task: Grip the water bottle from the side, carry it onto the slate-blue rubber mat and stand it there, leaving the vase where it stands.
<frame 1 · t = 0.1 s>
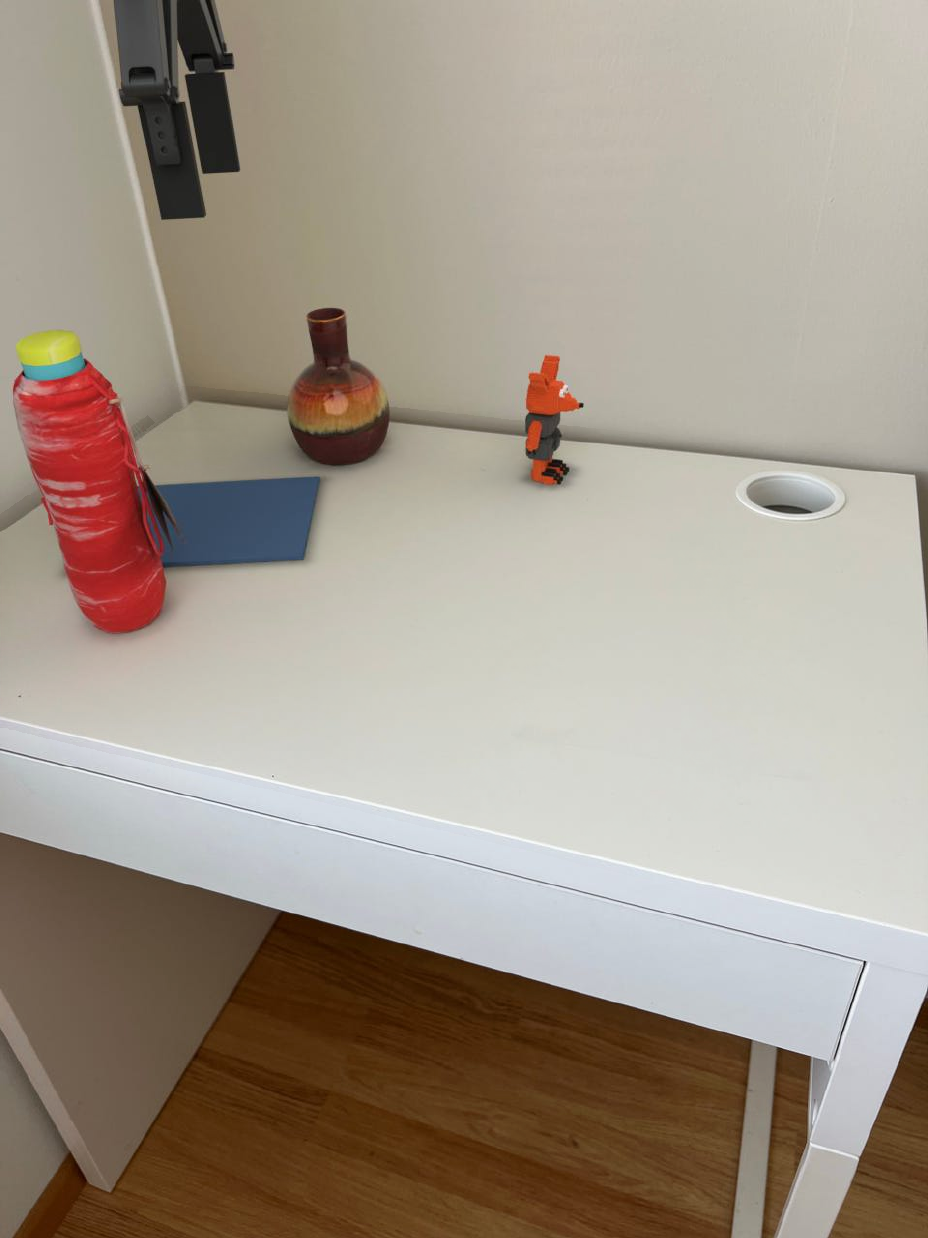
hand: (204, 193, 69), 34 cm above the table, tool pointing down, fingers open, 13 cm apart
vase: (343, 451, 113), on the table
toy animal: (556, 477, 105), on the table
blue mat: (202, 523, 100), on the table
water bottle: (145, 617, 87), on the table
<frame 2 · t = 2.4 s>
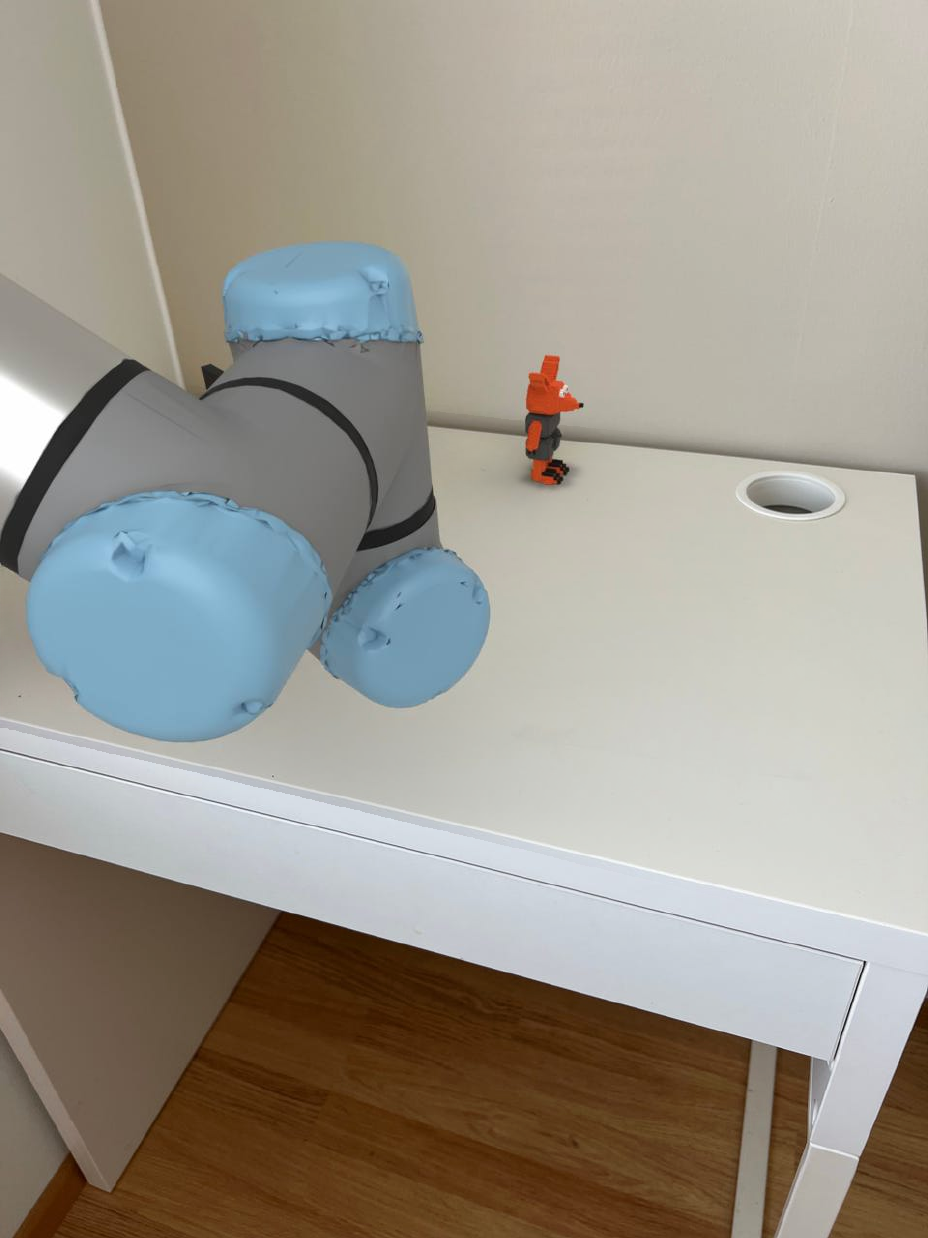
hand: (118, 411, 68), 22 cm above the table, tool horizontal, fingers open, 13 cm apart
nothing on the table moved.
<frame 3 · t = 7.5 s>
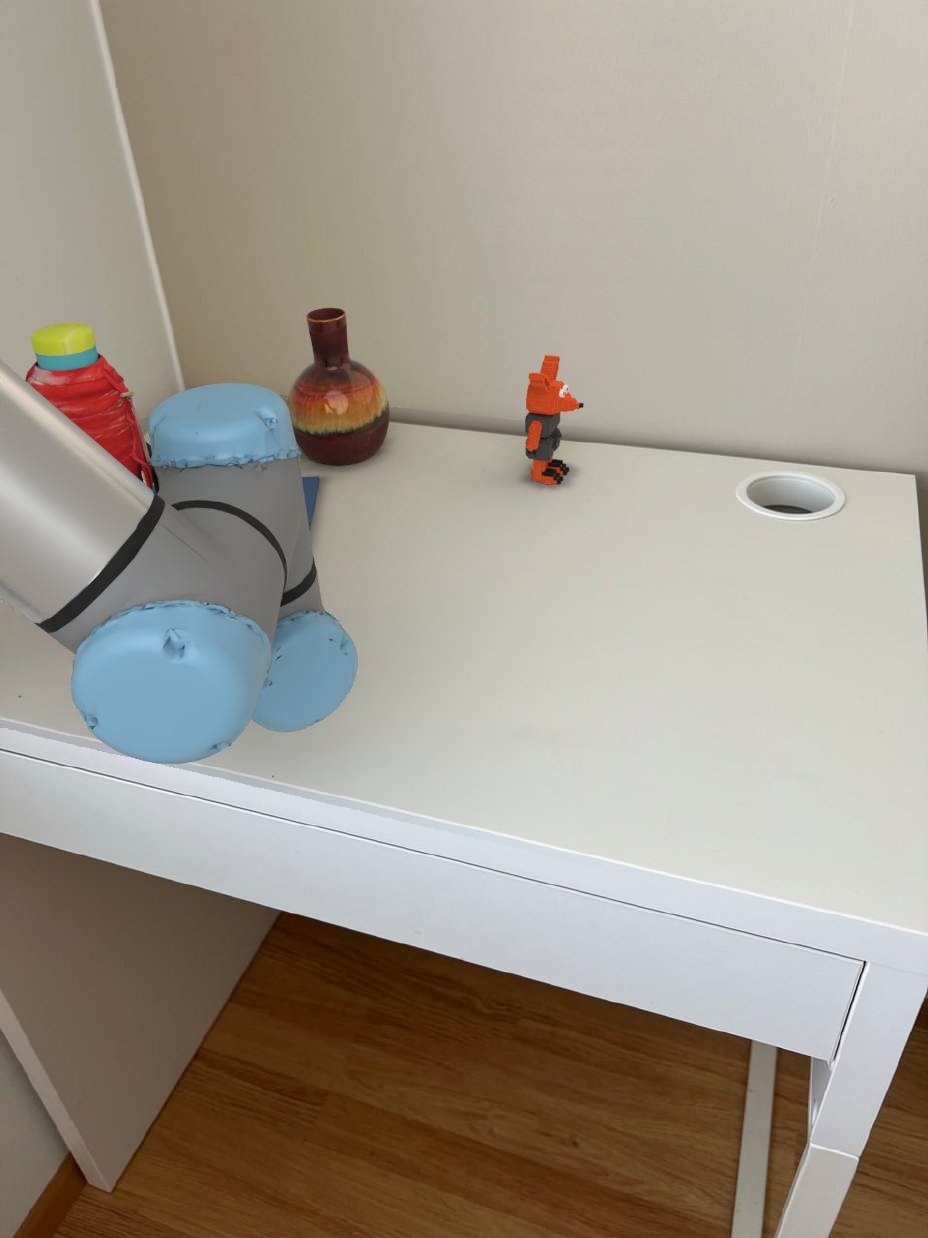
hand: (85, 462, 83), 13 cm above the table, tool horizontal, fingers closed on water bottle, 8 cm apart
water bottle: (144, 616, 87), on the table, touching gripper
everything else where it was.
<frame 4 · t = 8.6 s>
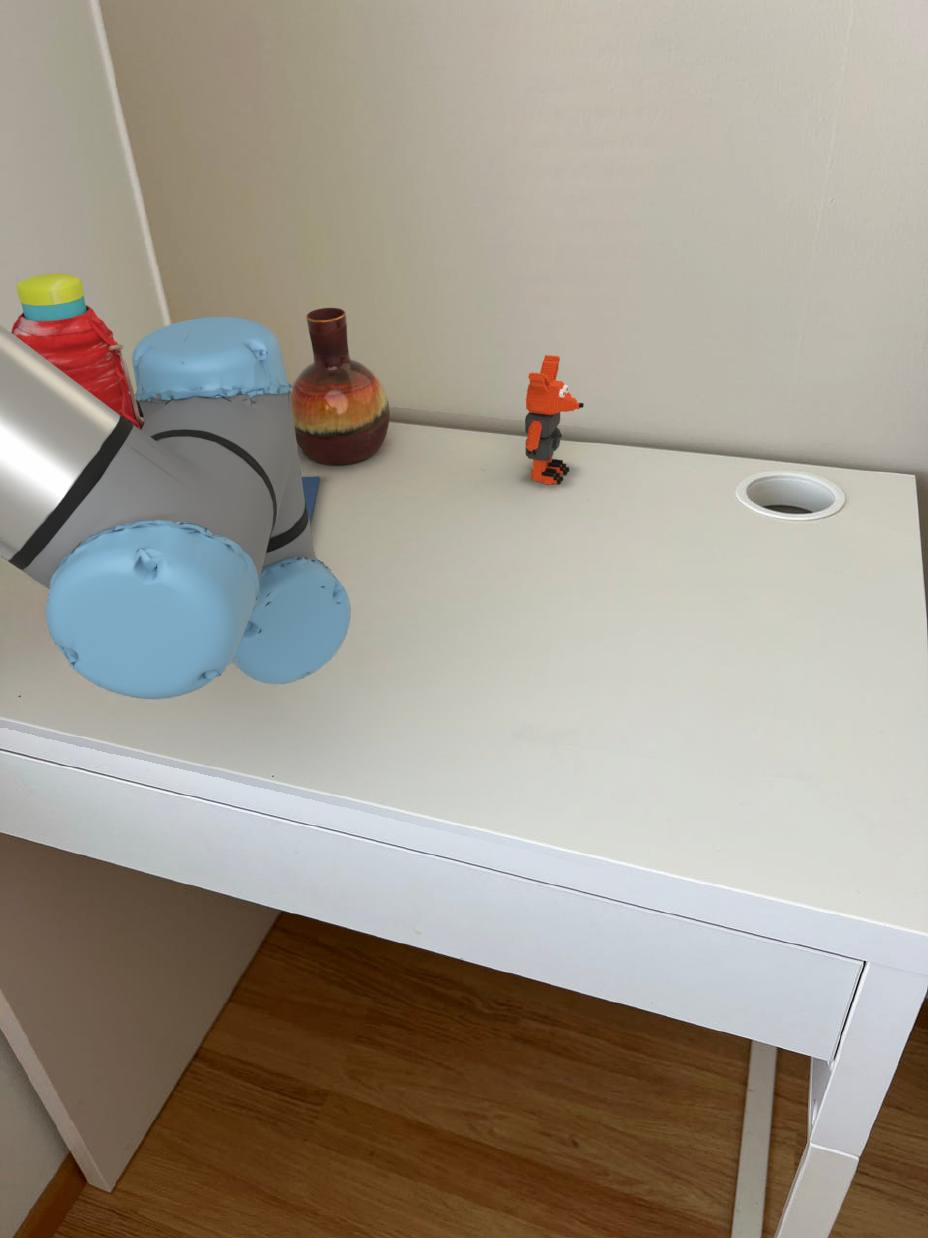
hand: (73, 420, 81), 17 cm above the table, tool horizontal, fingers closed on water bottle, 8 cm apart
water bottle: (134, 581, 85), point 4 cm above the table, touching gripper
everything else where it was.
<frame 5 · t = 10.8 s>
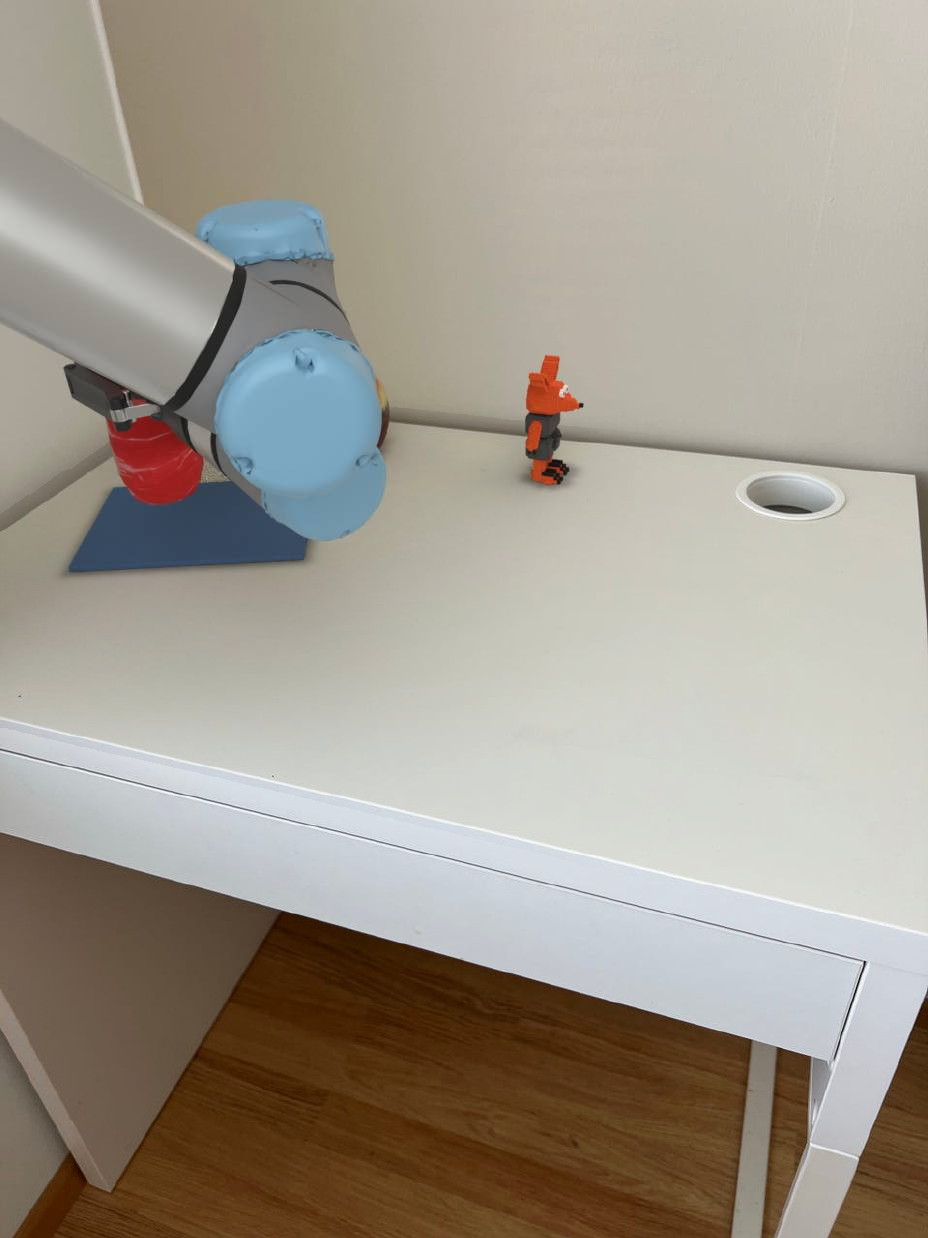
hand: (121, 335, 87), 20 cm above the table, tool horizontal, fingers closed on water bottle, 7 cm apart
water bottle: (182, 495, 92), point 6 cm above the table, touching gripper
everything else where it was.
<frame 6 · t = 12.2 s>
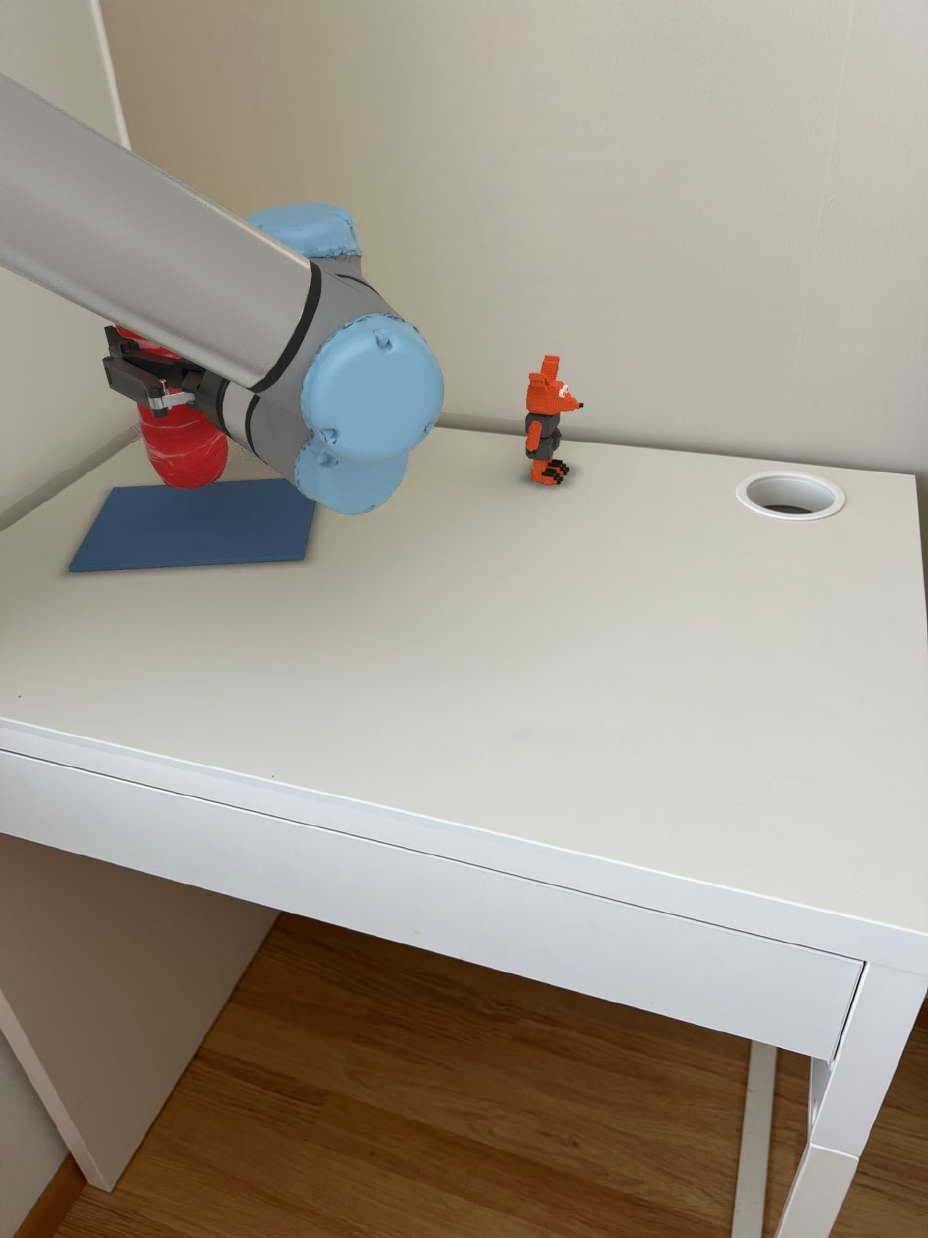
hand: (152, 330, 93), 18 cm above the table, tool horizontal, fingers closed on water bottle, 7 cm apart
water bottle: (208, 480, 98), point 4 cm above the table, touching gripper
everything else where it was.
when the fingers open (14 cm above the table, at t = 13.7 s): water bottle stays where it is, resting on blue mat.
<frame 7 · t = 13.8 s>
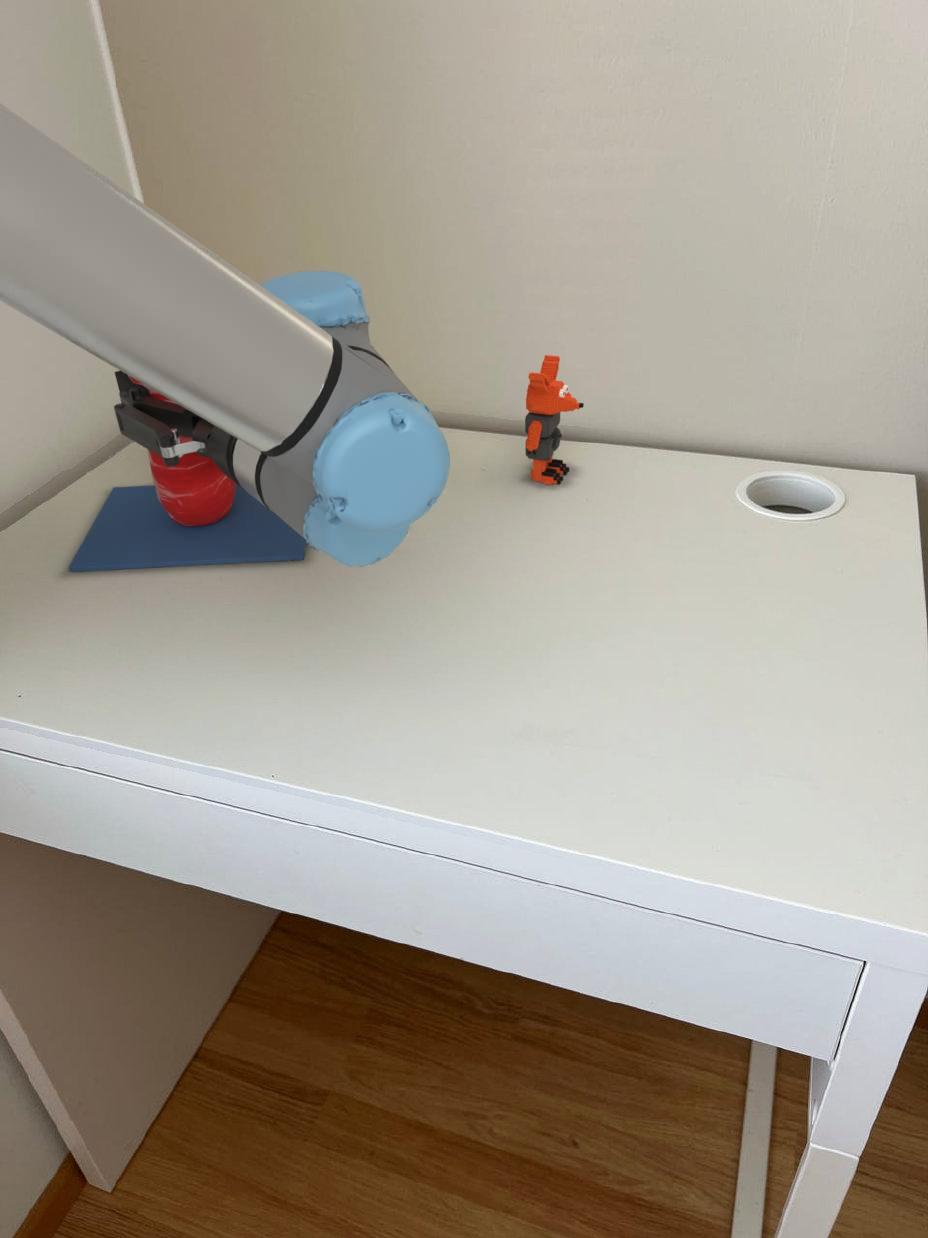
hand: (162, 373, 95), 14 cm above the table, tool horizontal, fingers open, 7 cm apart
water bottle: (215, 516, 101), resting on blue mat
everything else where it was.
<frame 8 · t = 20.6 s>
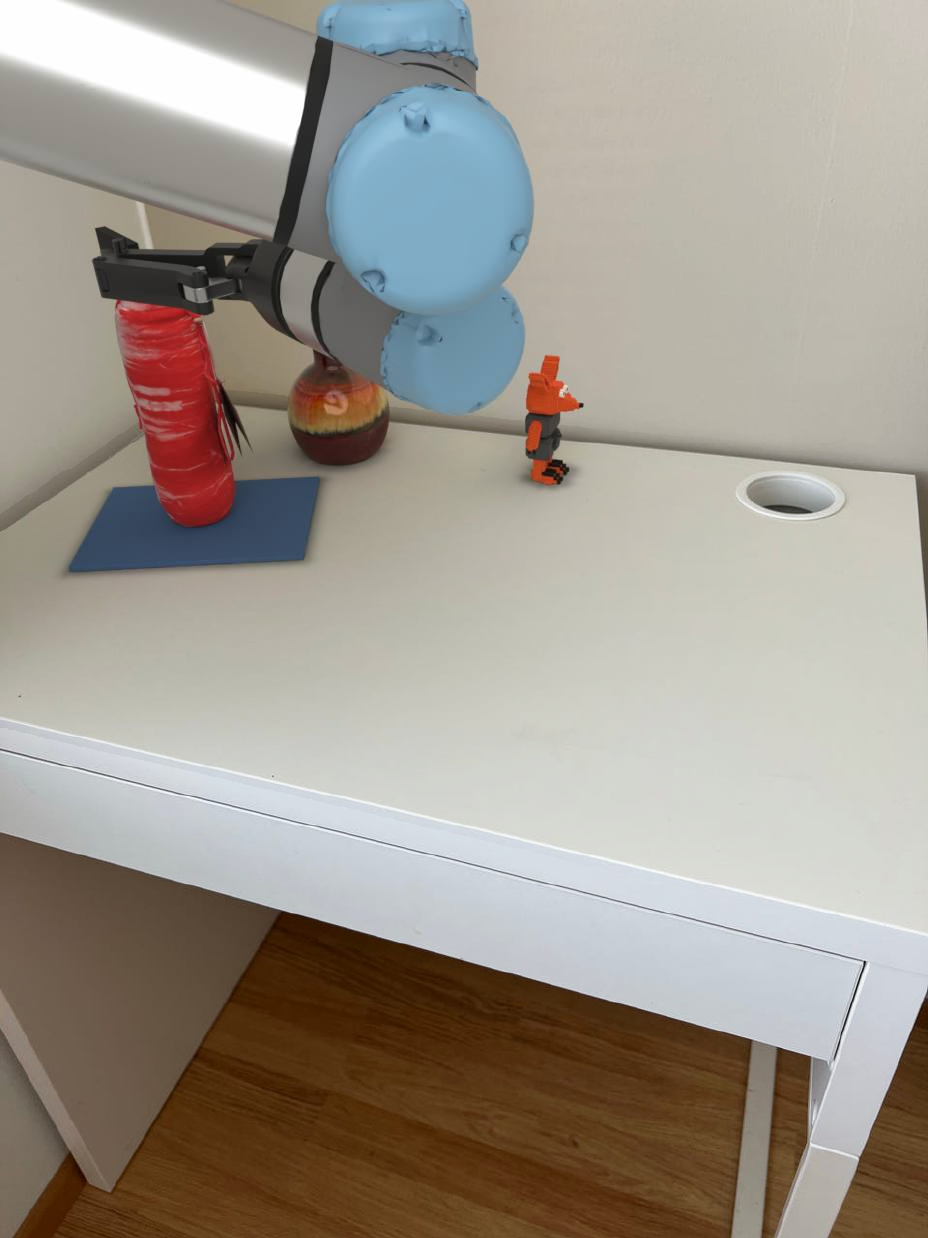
hand: (190, 227, 77), 30 cm above the table, tool horizontal, fingers open, 13 cm apart
nothing on the table moved.
at the end: water bottle inside the target area on the blue mat (1.4 cm from its centre), point 0.3 cm above the blue mat's base; water bottle tilted 0°; vase moved 0.2 cm from its start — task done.
